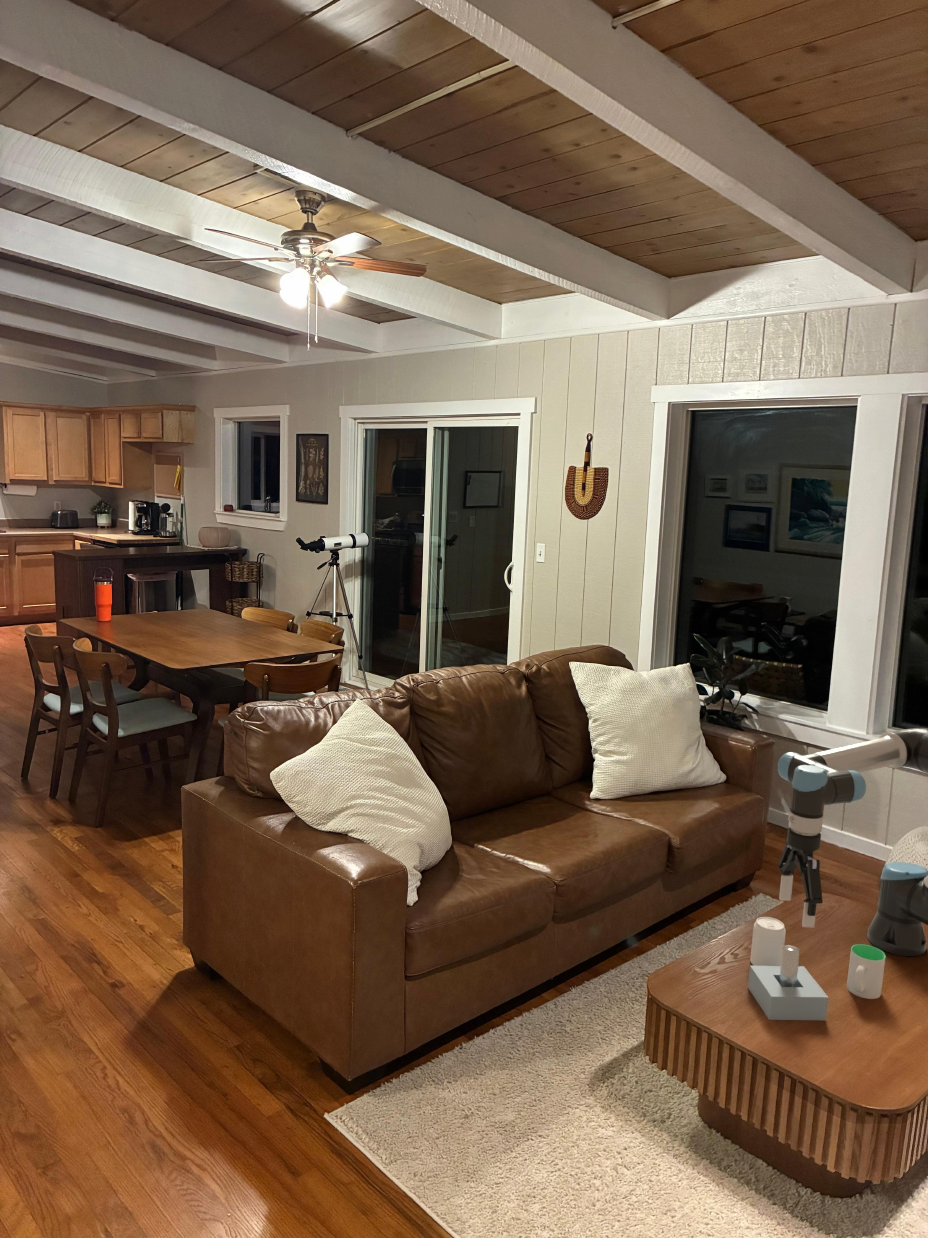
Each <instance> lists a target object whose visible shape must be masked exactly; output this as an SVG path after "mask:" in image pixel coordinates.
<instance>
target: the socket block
mask: <svg viewBox="0 0 928 1238" xmlns="http://www.w3.org/2000/svg"><path fill="white" fill-rule="evenodd" d="M780 969H781V966H754V965H749V971H748V972H749V973H748V980H747V981H748V982H747V989H748V990H749V991H750V993H751V994H752V996H753V997H754V999H755V1000H756V1002H757V1004H758V1005H759V1006H760V1008H761V1010H762V1011H763V1013H764V1014H765V1016H766V1017H767V1019H768V1020H770V1021H775V1020H776V1021H778V1020H779V1021H827V1013H828V1003H829V996H828V994H827V993H825V991H824V989H823V988H822V987H821V986H820V984H819V983H818V982H817V981H816V980H815V978H814V977H813V976H812V975H811V974H810V972H809V971H808V969H807V968H806V967H805V966H804V965H801V966H799V965H798V974H797V983H796V987H781V985H780V984H779V978H780Z"/></svg>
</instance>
